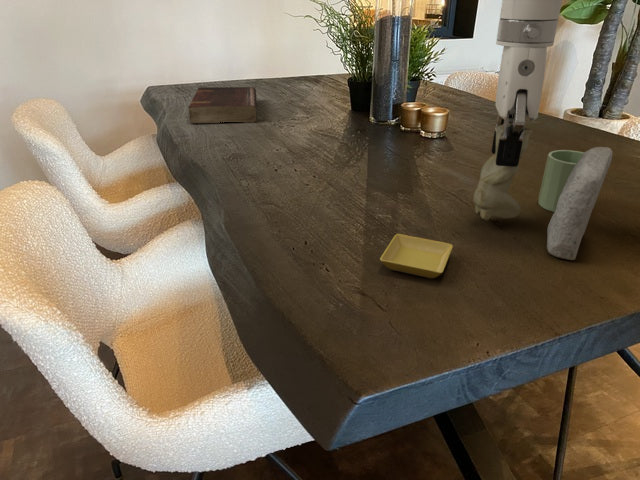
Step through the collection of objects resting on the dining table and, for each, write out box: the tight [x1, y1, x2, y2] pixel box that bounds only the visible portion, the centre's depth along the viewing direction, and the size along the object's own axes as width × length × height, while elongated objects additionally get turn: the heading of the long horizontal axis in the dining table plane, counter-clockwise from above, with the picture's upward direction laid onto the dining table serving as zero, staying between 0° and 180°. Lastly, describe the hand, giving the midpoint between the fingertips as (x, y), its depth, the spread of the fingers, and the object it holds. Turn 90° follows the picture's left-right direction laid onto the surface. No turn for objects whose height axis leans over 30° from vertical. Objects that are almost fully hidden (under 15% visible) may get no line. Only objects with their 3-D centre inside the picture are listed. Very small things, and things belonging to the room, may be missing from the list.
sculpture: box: [472, 123, 533, 221], centre depth 77 cm, size 6×7×15 cm
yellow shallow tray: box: [379, 233, 454, 279], centre depth 69 cm, size 9×9×2 cm
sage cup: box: [537, 149, 585, 213], centre depth 86 cm, size 8×8×9 cm
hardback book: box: [188, 86, 258, 124], centre depth 151 cm, size 29×19×5 cm, turn 7°
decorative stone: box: [546, 146, 614, 261], centre depth 71 cm, size 11×6×15 cm, turn 150°
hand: (504, 158), depth 76 cm, fingers closed on sculpture, 5 cm apart
